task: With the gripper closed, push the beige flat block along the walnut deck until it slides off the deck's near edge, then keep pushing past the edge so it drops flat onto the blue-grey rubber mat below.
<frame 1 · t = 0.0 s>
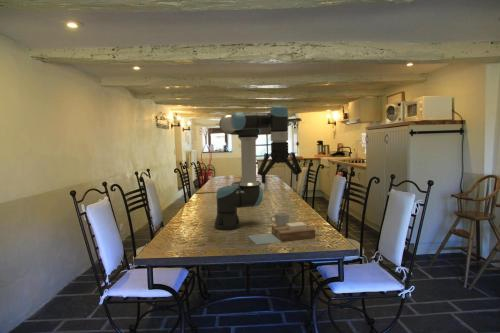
hand: (280, 189, 144), 28 cm above the table, fingers open, 13 cm apart
deck: (293, 235, 169), on the table
cup: (279, 227, 186), on the table
mat: (264, 239, 164), on the table
beige flat block: (296, 227, 169), point 4 cm above the table, touching deck
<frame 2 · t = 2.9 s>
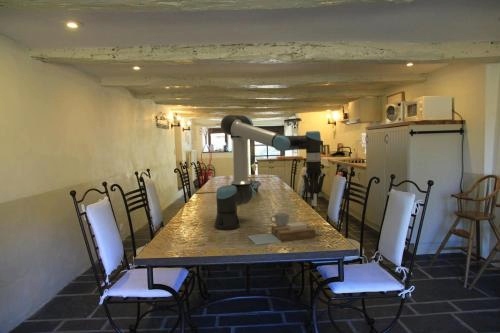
hand: (314, 205, 171), 15 cm above the table, fingers closed
nothing on the table moved.
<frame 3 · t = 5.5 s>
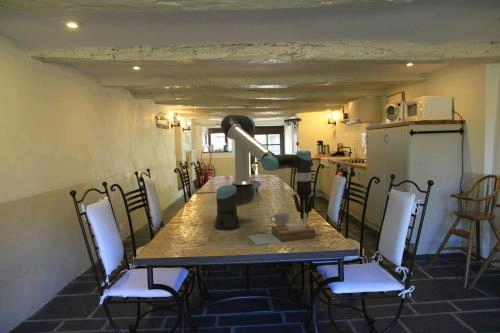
hand: (304, 224, 170), 5 cm above the table, fingers closed
beige flat block: (295, 228, 169), point 4 cm above the table, touching deck, gripper
everything else where it was.
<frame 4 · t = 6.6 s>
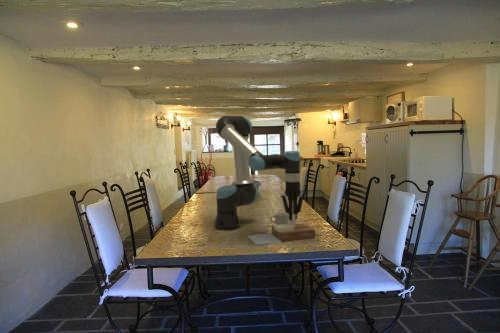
hand: (293, 226, 168), 5 cm above the table, fingers closed
beige flat block: (284, 229, 167), point 4 cm above the table, touching deck
everything else where it was.
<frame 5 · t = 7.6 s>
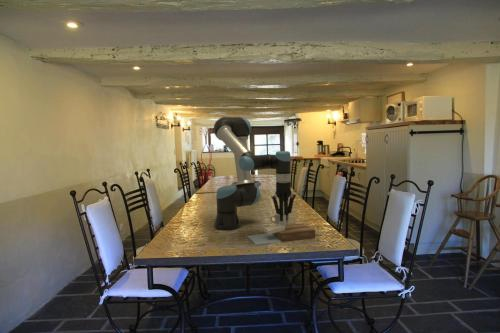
hand: (283, 227, 167), 5 cm above the table, fingers closed
beige flat block: (274, 230, 165), point 4 cm above the table, tilted 8°, touching deck, gripper
everything else where it was.
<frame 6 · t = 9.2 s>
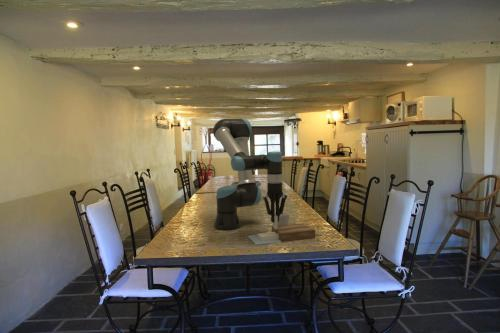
hand: (275, 228, 166), 5 cm above the table, fingers closed
beige flat block: (268, 238, 165), resting on mat
everything else where it was.
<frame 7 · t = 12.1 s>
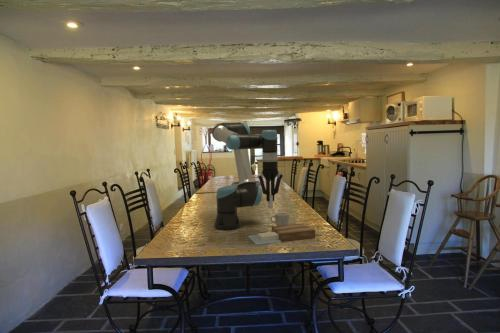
hand: (270, 207, 164), 16 cm above the table, fingers closed
nothing on the table moved.
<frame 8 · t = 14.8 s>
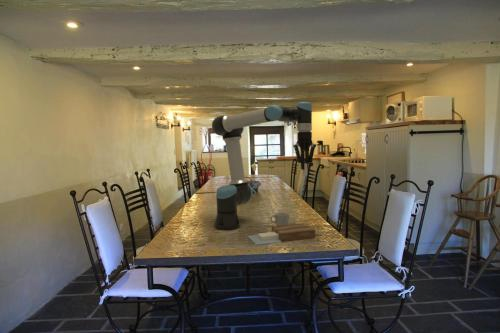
hand: (304, 175, 175), 30 cm above the table, fingers closed
nothing on the table moved.
at the end: beige flat block resting on mat; beige flat block inside the target area (2.3 cm from its centre), resting on mat; beige flat block touching mat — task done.
